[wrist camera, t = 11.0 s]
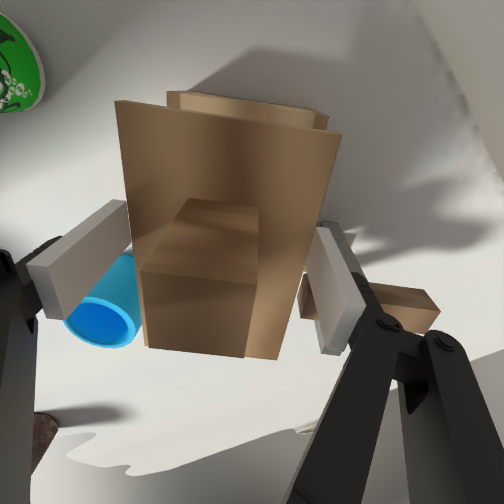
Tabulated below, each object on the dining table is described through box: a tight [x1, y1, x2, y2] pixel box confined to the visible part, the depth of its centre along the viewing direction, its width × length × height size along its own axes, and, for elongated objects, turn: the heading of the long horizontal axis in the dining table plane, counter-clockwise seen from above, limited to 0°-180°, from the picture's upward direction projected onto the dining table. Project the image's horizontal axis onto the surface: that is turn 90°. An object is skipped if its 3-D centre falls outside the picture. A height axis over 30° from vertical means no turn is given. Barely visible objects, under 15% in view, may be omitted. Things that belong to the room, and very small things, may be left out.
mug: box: [63, 255, 142, 348], centre depth 34 cm, size 12×8×8 cm
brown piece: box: [31, 414, 58, 475], centre depth 51 cm, size 8×7×20 cm
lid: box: [114, 100, 342, 360], centre depth 15 cm, size 11×18×8 cm, turn 173°
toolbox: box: [167, 91, 349, 272], centre depth 27 cm, size 19×18×6 cm
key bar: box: [297, 274, 441, 334], centre depth 25 cm, size 12×3×3 cm, turn 82°
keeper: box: [306, 221, 372, 356], centre depth 28 cm, size 2×8×12 cm, turn 172°
